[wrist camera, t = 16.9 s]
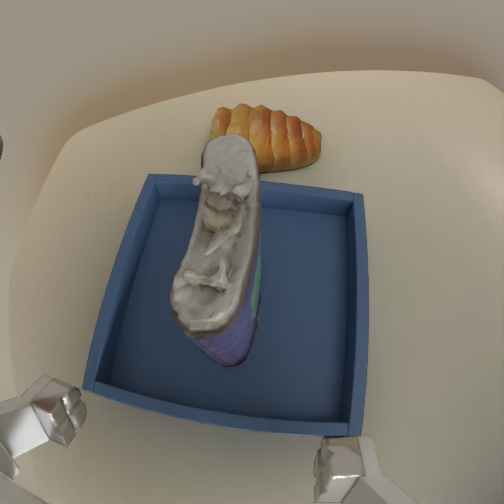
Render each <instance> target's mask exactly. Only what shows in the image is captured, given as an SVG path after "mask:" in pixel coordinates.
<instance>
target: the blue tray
mask: <svg viewBox="0 0 504 504" xmlns="http://www.w3.org/2000/svg"><path fill="white" fill-rule="evenodd" d="M195 177H197V176H188V175H168V174H148V176H147V179H146V181H145V183H144V186H143V188H142V191H141V193H140V195H139V198H138V200H137V203H136V205H135V208H134V210H133V213H132V216H131V218H130V221H129V223H128V226H127V229H126V232H125V234H124V237H123V240H122V243H121V246H120V248H119V251H118V254H117V257H116V260H115V263H114V266H113V269H112V272H111V276H110V279H109V282H108V285H107V288H106V292H105V295H104V299H103V302H102V306H101V309H100V313H99V316H98V320H97V324H96V328H95V332H94V336H93V340H92V344H91V348H90V353H89V357H88V362H87V366H86V371H85V376H84V381H83V386H82V389H83V390H85V391H87V392H90V393H94V394H96V395H99V396H102V397H104V398H107V399H110V400H114V401H117V402H120V403H123V404H126V405H130V406H133V407H136V408H140V409H144V410H147V411H151V412H155V413H159V414H163V415H167V416H171V417H175V418H180V419H184V420H189V421H194V422H199V423H204V424H209V425H215V426H221V427H227V428H233V429H240V430H248V431H256V432H265V433H275V434H287V435H302V436H350V435H355V436H361V433H362V425H363V416H364V405H365V394H366V380H367V364H368V338H369V279H368V253H367V236H366V222H365V210H364V199H363V194H360V193H352V192H348V191H341V190H333V189H326V188H318V187H311V186H302V185H294V184H285V183H276V182H266V181H260V183H261V196H262V205H261V207H262V217H261V277H260V295H261V303H260V314H259V320H258V322H257V323H258V328H257V331H256V334H255V340H254V345H253V347H252V349H251V351H250V352H249V357H248V358H247V360H246V361H245V362H244V363H243V364H242V365H239V366H236V367H223V366H218V363H217V362H216V361H215V360H214V359H213V358H212V357H210V356H209V355H208V354H207V353H206V352H205V351H204V350H202V349H201V347H199V346H198V345H197V344H195V343H194V342H193V341H192V340H191V339H189V337H187V336H185V335H184V334H183V333H182V329H181V327H180V326H179V325H178V324H177V323H176V321H175V319H174V317H173V313H172V308H171V302H170V292H171V288H172V285H173V281H174V276H175V274H176V273H177V271H178V269H179V268H180V266H181V262H182V260H183V258H184V256H185V254H186V252H187V249H188V245H189V241H190V238H191V235H192V232H193V227H194V222H195V219H196V214H197V209H198V203H199V194H200V193H201V185H202V182H201V183H200V184H199V185H198V186H195V185H194V184H192V182H193V178H195Z"/></svg>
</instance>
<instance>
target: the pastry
mask: <svg viewBox="0 0 504 504" xmlns="http://www.w3.org/2000/svg"><path fill="white" fill-rule="evenodd" d="M225 135H238V136H240V137H243V138H245V139H248V140H249V141H250V142H251V144H252V146H253V148H254V150H255V151H256V157H257V162H258V169H259V173H262V172H275V171H284V170H294V169H297V168H302V167H304V166H306V165H309V164H312V163H314V162H315V161H316V160H317V159H318V158H319V156H320V152H321V139H322V136H321V133H320V132H319V131H317V130H316V129H314V127H313V126H311V125H310V124H308V123H306V122H303V121H301V120H300V119H299V118H298V117H294V116H287V115H286V114H285V113H284V112H283V111H280V110H279V111H272V110H270V109H268V108H266V107H264V106H263V105H260V106H257V107H256V108H251V107H250V106H248V105H246V104H239V105H238V106H237V107H235V108H234V109H228V108H225V107H221V108H218V109H217V111H216V113H215V116H214V118H213V121H212V130H211V137H210V140H213V139H215V138H217V137H219V136H225Z"/></svg>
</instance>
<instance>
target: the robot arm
mask: <svg viewBox="0 0 504 504" xmlns="http://www.w3.org/2000/svg"><path fill="white" fill-rule="evenodd" d="M80 397H81V393H80V390H79V388H76V387H74V386H71V385H69V384H67V383H64V382H62V381H60V380H58V379H56V378H53V377H51V376H49V375H47V374H44V375H41V376H40V377H39V378H38V379H37V380H36V381H35V382H34V383H33V384H32V385H31V386H30V387H29V389H28V390H27V391H26V392H25V393H24V394H23V395H22V396H21V397H20V398H18V397H15V398H11V399H8V400H5V401H2V402H0V504H49V503H47V502H45V501H43V500H42V499H40V498H39V497H37V496H35V495H33V494H32V493H31V492H29V491H27V490H26V489H25V488H23V487H22V486H20V485H19V484H17V483H16V482H14V481H13V480H14V478H15V477H16V475H17V474H18V472H19V471H20V469H19V466H18V465H17V464H16V462H15V461H14V460H13V458H15V457H17V456H19V455H21V454H23V453H25V452H27V451H29V450H31V449H33V448H35V447H37V446H39V445H41V444H43V443H45V442H47V441H49V439H51V440H53V441H55V442H57V443H59V444H61V445H63V446H65V447H68V446H69V444H70V443H71V441H72V440H73V438H74V437H75V430H76V429H78V428H80V427H82V425H83V424H84V422H85V419H86V415H87V412H86V407H85V404H84V403H83V402H82V401H81V399H80ZM314 477H315V478H316V479H317V482H316V484H315V486H314V503H341V504H419V503H418V502H417V501H415V500H414V499H413V498H412V497H411V496H410V495H408V494H407V493H406V492H405V491H404V490H403V489H402V488H400V487H399V486H398V485H397V484H396V483H395V482H394V481H393V480H391V479H390V478H389V477H388V476H387V475H382V474H381V470H380V465H379V461H378V456H377V452H376V448H375V443H374V439H373V437H372V436H371V435H362V436H355V435H350V436H324V437H323V439H322V441H321V449H319V450H318V451H317V453H316V456H315V461H314Z"/></svg>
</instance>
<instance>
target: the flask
mask: <svg viewBox="0 0 504 504" xmlns="http://www.w3.org/2000/svg"><path fill="white" fill-rule="evenodd" d="M201 168H202V170H201V171H200V172H199V174H198V176H197V177H195V178H193V182H192V184H194V185H195V186H198V185H199V184H200V183H201V182H202V185H201V193H200V194H199V203H198V209H197V214H196V219H195V222H194V227H193V232H192V235H191V238H190V241H189V245H188V249H187V252H186V254H185V256H184V258H183V260H182V262H181V266H180V268H179V269H178V271H177V273H176V274H175V276H174V281H173V285H172V288H171V292H170V302H171V308H172V313H173V317H174V319H175V321H176V323H177V324H178V325H179V326H180V327H181V329H182V333H183V334H184V335H185V336H187V337H189V339H191V340H192V341H193V342H194V343H195V344H197V345H198V346H199V347H201V349H202V350H204V351H205V352H206V353H207V354H208V355H209V356H210V357H212V358H213V359H214V360H215V361H216V362H217V363H218V366H223V367H236V366H239V365H242V364H243V363H244V362H245V361H246V360H247V358H248V357H249V352H250V351H251V349H252V347H253V345H254V340H255V334H256V331H257V328H258V323H257V322H258V320H259V314H260V303H261V295H260V277H261V217H262V207H261V205H262V196H261V183H260V175H259V169H258V162H257V157H256V151H255V150H254V148H253V146H252V144H251V142H250V141H249V140H248V139H245V138H243V137H240V136H238V135H225V136H219V137H217V138H215V139H213V140H210V141H208V142H207V144H206V145H205V148H204V150H203V153H202V155H201Z"/></svg>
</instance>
